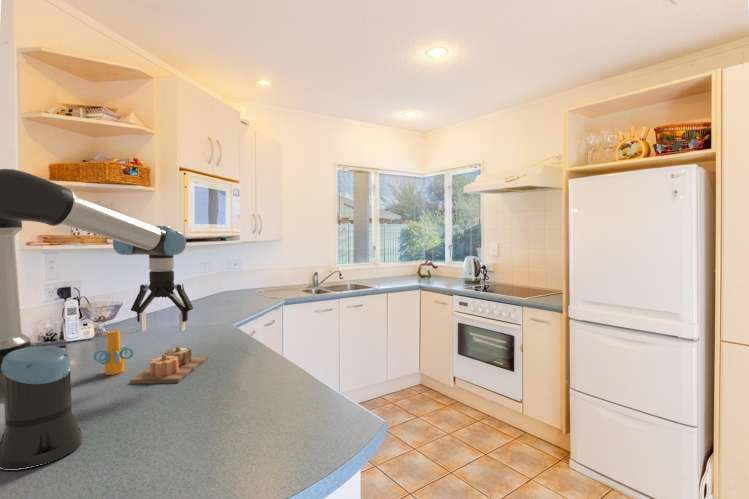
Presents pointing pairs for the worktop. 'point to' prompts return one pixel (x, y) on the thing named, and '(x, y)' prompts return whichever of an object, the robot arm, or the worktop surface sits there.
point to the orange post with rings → (113, 354)
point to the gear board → (185, 368)
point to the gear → (164, 366)
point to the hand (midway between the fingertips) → (162, 331)
